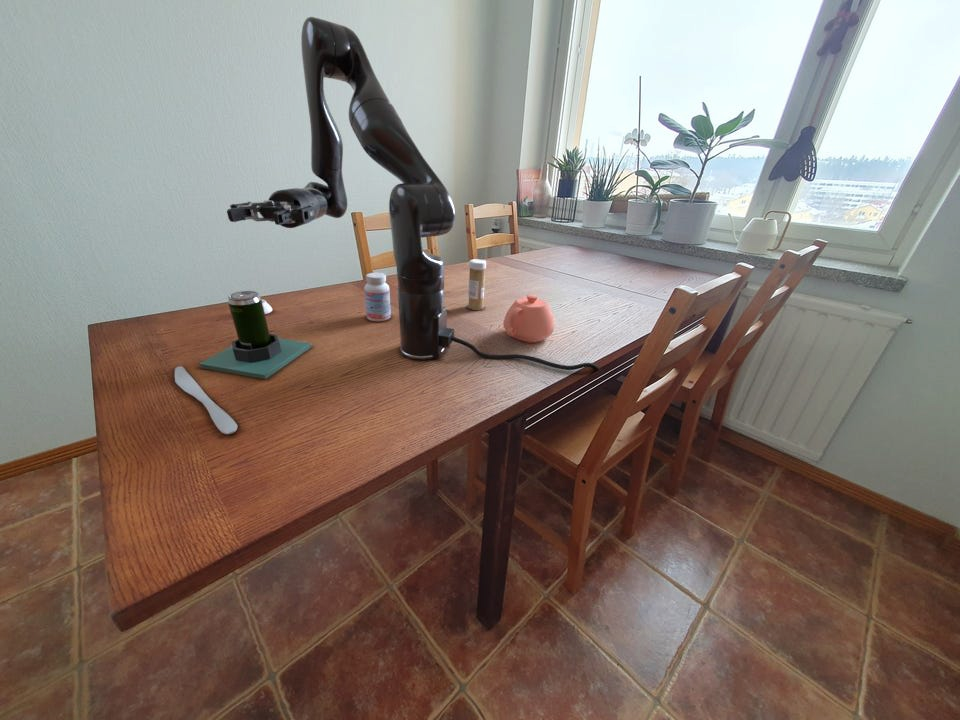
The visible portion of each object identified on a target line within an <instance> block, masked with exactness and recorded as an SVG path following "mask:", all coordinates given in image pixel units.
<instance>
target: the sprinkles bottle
mask: <svg viewBox="0 0 960 720" xmlns="http://www.w3.org/2000/svg"><path fill="white" fill-rule="evenodd" d="M468 267H469V278H468V304H467V308H468V309H470V310H473V311H481V310H483V309H484V306H485V305H484V301H485V300H484V298H485V283H486V282H485V279H486V278H485V277H486V269H487V261H486V260H485V259H479V258H475V259H470V260H469V262H468Z"/></svg>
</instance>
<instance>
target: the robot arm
mask: <svg viewBox="0 0 960 720" xmlns="http://www.w3.org/2000/svg"><path fill="white" fill-rule="evenodd" d="M300 41H301V57H302V66H303V76H304V85H305V93H306V100H307V106H308V107H307V108H308V116H309V124H310V147H311V149H310V167H311V168H310V169H311V172H312V173H313V174H314V176H316V177H317V178H319V179H320V180H322V181H323V182H324V183H326V184H323V183H320V182H317V181H309V182H308V183H307V184H306V185H305V186H304V187H302V188H300V187H294V188H287V189H279V190H276V191H274V192H272V193H271V195H270V196H269V197H268V200H263V201H253V202H252V201H247V202H241V203H232V204H230V205H229V207H230V208H228V209H226V214H227V217H228V220H229V221H230V222H232V223H236V222H241V221H246V220H252V221H255V222H271V223H272V222H274V224H275V226H276V225H277V226H281V227H283V228H286V229H293V228H294V229H295V228H297V227H301V226H303V225H306V224H309V223H311V222H313V221H316V220H318V219H320V218H322V217H324V216H328V217H331V218H334V219H340V218H342V217H343V216H344V215H345V214H346V212H347V210H348V197H347V191H346V187H345V181H344V177H343V162H344V161H343V159H344V144H343V138H342V135H341V133H340V130H339V128H338V125H337V123H336V121H335V119H334V117H333V115H332V113H331V111H330V109H329V105H328V102H327V99H326V96H325V95H326V94H325V87H324V86H325V85H324V83H325V82H324V79H325V78H326V79H330V80H331V79H332V80H334V81H335V80H336V81H341V82H345V83H347V84H348V85H349V86H350V87H351V89H352V90H353V93H352V96H351V99H350V101H349V105H348V121H349V124H350V127H351V129H352V131H353V133H354V135H355V137H356V138H357V140H358V142H359V144H360V146H361V148H362V150H364V152H365V153H366V154H367V156H368V157H369V158H370V159H371V160H373V161H374V162H375V163H376V164H377V165H379V166H380V167H382V169H384V170H385V171H387V172H388V173H390V174H391V175H392V176H394V177H395V178H396V179H398V180H399V181H400V182H401V183H398V184H395V185H394V186H393V188H392V189H391V191H390V194H389V201H388V212H389V224H390V232H391V241H392V242H391V243H392V252H393V257H394V261H395V266H396V278H397V279H396V280H397V282H396V283H397V301H398V320H399V322H398V323H399V335H400V336H399V339H400V341H399V342H400V347H399V349H400V353H401V354H402V356H404V357H406V358H408V359H411V360H418V361H425V360H426V361H427V360H439V359H440V358H441V356H442V355H443V354H444V352H445V350H446V349H447V348H449V347H450V346H451V344H452V343H453V342H455V343H457V344H459V345H462V346H464V347H467V348H468V349H470V350H472V351H473V353H475V354H476V355H477V356H479V357H481V358H485V359H489V360H490V359H492V360H507V359H508V360H510V359H518V360H525V361H526V360H527V361H531V362H535V363H537V364H541V365H543V366H547V367H550V368H554V369H558V370H563V371H574V370H579V369H584V368H592V369H593V370H594V371H596V372H600V371H601V369H600V367H598V365H596V363H593V362H582V363H578V364H574V365H566V364H559V363H555V362H551V361H549V360H545V359H542V358H539V357H535V356H532V355H526V354H519V353H508V354H491V353H490V354H489V353H485V352H483V351H481V350H479V349H478V348H477V347H476V346H475V345H474V344H472V343H470V342H468V341H466V340H464V339H461V338H459V337H456V336H455V328H450V327H447V325H448V321H447V320H448V319H447V318H448V309H447V307H446V306H445V261H444V260H443V258H442V257H441V256H440V255H436V254H433V253H430V252H426V251H424V249H423V243H422V238H431V237H439V236H444V235H447V234H448V233H450V232H451V231H452V230H453V228H454V226H455V221H456V210H455V205H454V201H453V199H452V196H451V194H450V193H449V191H448V189H447V187H446V186H445V185H444V183H443V181H442V180H441V179H440V178H439V176H438V175H437V174H436V173H435V171H434V170H433V169H432V167H431V166H430V164H429V163H428V161H427V160H426V159H425V158H424V156H423V155H422V153H421V151H420V150H419V149H418V147H417V145H416V143H415V141H414V140H413V138H412V137H411V135H410V133H409V132H408V130H407V128H406V126H405V125H404V122H403V121H402V119H401V117H400V116H399V114H398V112H397V110H396V108H395V107H394V105H393V103H391V100H390V99H389V97H388V96H387V94H386V92H385V91H384V88H383V87H382V85H381V83H380V81H379V79H378V78H377V75H376V73H375V71H374V69H373V67H372V64H371V62H370V60H369V57H368V55H367V53H366V50H365V48H364V46H363V44H362V42H361V40H360V38H359V37H358V35H357V34H356V32H355V31H354V30H352V29H351V28H350V27H347V26H345V25H342V24H339V23H336V22H332V21H329V20H325V19H322V18H319V17H314V16H309V17H306V19H305V20H304V21H303V24H302V28H301V40H300ZM258 213H259V214H258ZM259 215H260V216H261V217H259Z"/></svg>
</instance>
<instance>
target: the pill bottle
mask: <svg viewBox="0 0 960 720" xmlns="http://www.w3.org/2000/svg"><path fill="white" fill-rule="evenodd" d="M365 276H366V277H365V278H366V282H367V283H366V284H365V285H364V286H363V287H364V289H363V291H364V300H365V313H366V318H367V320H369V321H371V322H385V321H388V320H389V319H390V318H391V317H392V311H391V293H390V291H391V290H390V285H389V284H388V283H387V275H386V273H383V272H369V273H367V274H366V275H365Z"/></svg>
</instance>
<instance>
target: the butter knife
mask: <svg viewBox="0 0 960 720" xmlns="http://www.w3.org/2000/svg"><path fill="white" fill-rule="evenodd" d="M174 382H175V383H176V385H177V386H178V387H180V389H182V391H184V392H186V393H187V394H188V395H191V396H193V398H195V399H196V400H198V401H199V402H200V403H202V405H203V406H204V408H205V409H206V410H207V412H208V413H209V416H210V418H211V421H212V422H213V423H214V425H215V426H216V428H217V429H218V430H219V431H220V432H221V434H224V435H231V434H234V433H235V432H237V430H238V424H237V422H236V421H235V420H234V419H233V418H232V417H231V416H230V415H229V414H228V413H227V412H226V411H225V410H224V409H223V408H221V407H220V406H218V405H217V404H216V402H214V401H213V399H211V398H210V397H209V396H208V395H207V393H205V391H204V390H203V389H202V387H201V386H200V384H198V383H197V381H196V380H195V379H194V378H193V377H192V375H190V373H189V372H188V371H187V370H186V369H185V368H184V367H183V366H181V365H180V366H177V367H175V368H174Z"/></svg>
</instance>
